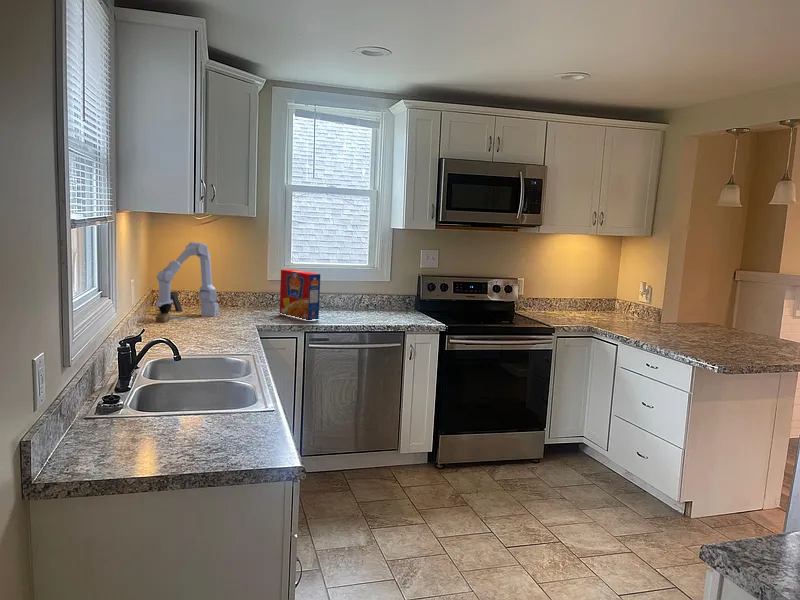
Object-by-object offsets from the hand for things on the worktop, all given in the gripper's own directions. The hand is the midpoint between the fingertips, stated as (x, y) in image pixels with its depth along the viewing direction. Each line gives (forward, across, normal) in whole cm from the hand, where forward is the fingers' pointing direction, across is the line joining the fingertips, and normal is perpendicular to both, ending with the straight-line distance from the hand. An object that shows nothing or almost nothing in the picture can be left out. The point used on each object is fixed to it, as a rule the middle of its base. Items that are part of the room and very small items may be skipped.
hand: (164, 318), depth 325 cm
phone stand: (+2, -33, -12) cm, 35 cm away
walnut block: (+2, +3, +1) cm, 3 cm away
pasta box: (+2, -46, +61) cm, 77 cm away
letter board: (+2, -9, +1) cm, 10 cm away
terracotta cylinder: (+2, -18, -10) cm, 21 cm away
